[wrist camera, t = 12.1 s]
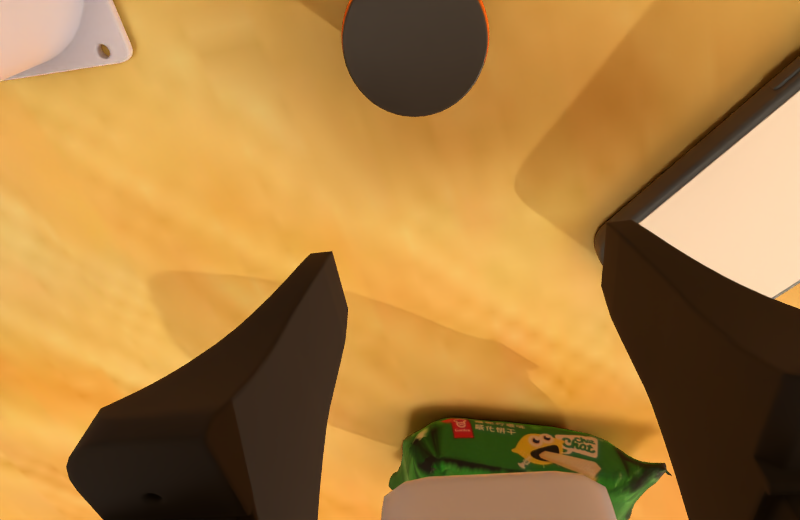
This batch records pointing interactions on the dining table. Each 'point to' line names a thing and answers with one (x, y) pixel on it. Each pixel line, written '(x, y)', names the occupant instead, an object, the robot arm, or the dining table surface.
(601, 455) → the snack package
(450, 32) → the dark brown cylinder
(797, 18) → the dining table surface
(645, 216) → the phone case
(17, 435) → the dining table surface
